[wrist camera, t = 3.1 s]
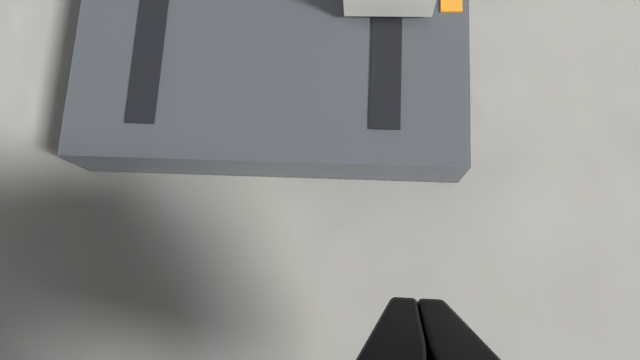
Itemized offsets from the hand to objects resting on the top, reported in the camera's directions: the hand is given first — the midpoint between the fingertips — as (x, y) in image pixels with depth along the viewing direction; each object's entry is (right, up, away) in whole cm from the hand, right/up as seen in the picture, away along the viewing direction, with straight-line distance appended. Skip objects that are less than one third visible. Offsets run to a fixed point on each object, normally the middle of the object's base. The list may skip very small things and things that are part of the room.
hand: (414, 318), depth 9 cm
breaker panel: (-3, +9, +15) cm, 17 cm away
